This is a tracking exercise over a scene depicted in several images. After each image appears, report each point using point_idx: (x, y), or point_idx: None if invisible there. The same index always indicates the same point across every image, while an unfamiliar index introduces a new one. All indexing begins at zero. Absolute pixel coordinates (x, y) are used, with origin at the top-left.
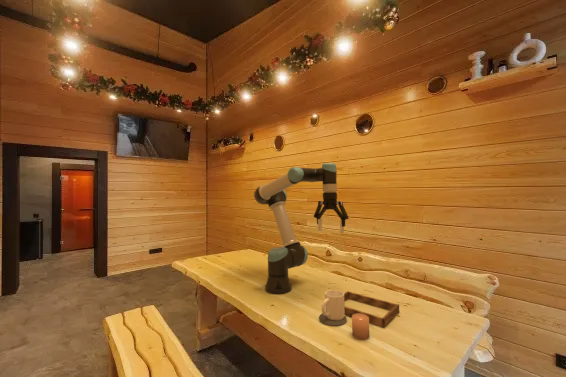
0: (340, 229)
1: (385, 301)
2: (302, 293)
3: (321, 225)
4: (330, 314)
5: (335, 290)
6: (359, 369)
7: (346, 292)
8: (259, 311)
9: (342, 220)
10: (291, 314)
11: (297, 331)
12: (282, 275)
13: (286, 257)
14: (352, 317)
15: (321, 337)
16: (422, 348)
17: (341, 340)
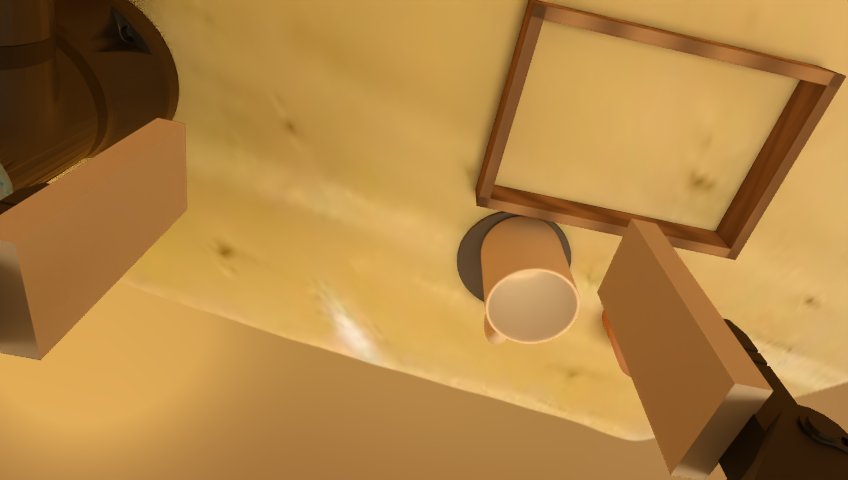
0: (620, 332)
1: (773, 63)
2: (256, 61)
3: (133, 181)
4: (512, 293)
5: (526, 271)
6: (636, 435)
7: (530, 29)
8: (225, 314)
9: (737, 462)
10: (347, 287)
11: (427, 367)
12: (97, 138)
13: (6, 139)
14: (622, 368)
15: (510, 367)
16: (829, 308)
17: (573, 359)
